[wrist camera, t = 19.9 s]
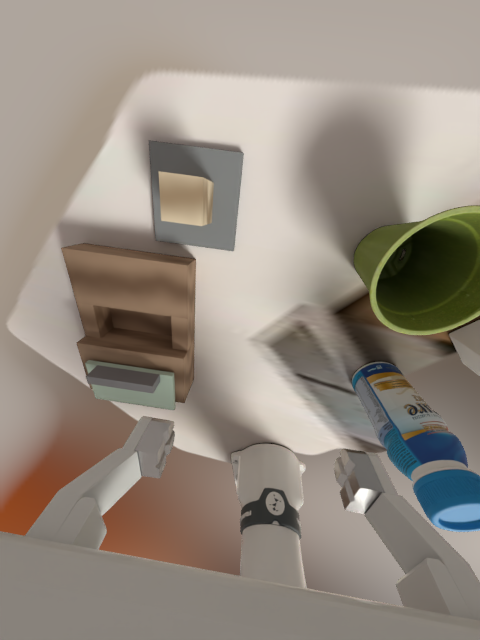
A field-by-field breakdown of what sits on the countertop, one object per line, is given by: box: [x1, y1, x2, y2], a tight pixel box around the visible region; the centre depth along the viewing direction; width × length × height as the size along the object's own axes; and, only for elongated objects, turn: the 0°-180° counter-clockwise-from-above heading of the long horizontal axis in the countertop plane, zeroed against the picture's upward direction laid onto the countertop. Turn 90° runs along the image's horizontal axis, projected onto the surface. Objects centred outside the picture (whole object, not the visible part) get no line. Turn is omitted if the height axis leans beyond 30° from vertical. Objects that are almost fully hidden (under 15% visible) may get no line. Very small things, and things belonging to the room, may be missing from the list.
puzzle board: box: [61, 243, 196, 403], centre depth 34 cm, size 24×17×6 cm
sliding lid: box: [85, 360, 176, 410], centre depth 34 cm, size 8×14×3 cm, turn 83°
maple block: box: [159, 171, 214, 226], centre depth 24 cm, size 4×4×6 cm
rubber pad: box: [149, 141, 244, 251], centre depth 27 cm, size 11×11×1 cm
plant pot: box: [354, 205, 480, 335], centre depth 24 cm, size 12×12×11 cm
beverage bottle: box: [352, 362, 480, 532], centre depth 30 cm, size 8×8×20 cm
